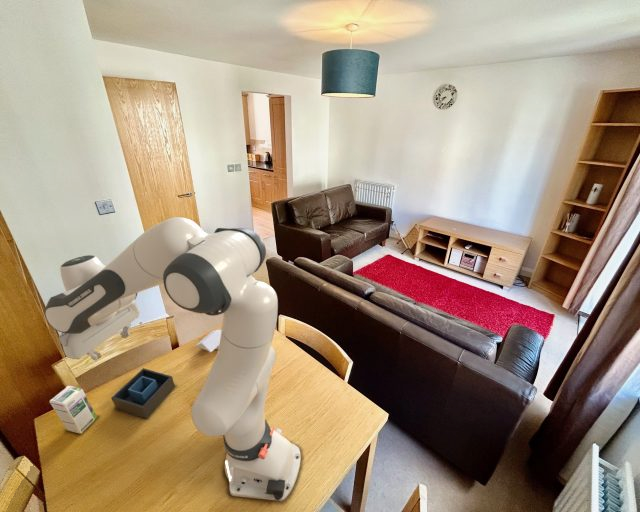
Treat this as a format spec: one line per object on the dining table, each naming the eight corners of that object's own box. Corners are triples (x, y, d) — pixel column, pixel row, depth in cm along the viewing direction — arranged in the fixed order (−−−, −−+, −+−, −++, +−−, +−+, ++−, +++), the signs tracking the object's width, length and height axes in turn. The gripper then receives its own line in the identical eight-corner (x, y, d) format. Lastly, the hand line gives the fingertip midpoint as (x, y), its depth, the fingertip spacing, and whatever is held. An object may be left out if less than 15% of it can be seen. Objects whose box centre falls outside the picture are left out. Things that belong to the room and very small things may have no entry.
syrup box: (81, 434, 87) (64, 404, 81) (66, 430, 88) (48, 400, 82) (97, 417, 92) (83, 388, 86) (83, 414, 93) (67, 384, 87)
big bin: (175, 386, 104) (172, 376, 101) (146, 418, 92) (142, 408, 90) (146, 378, 107) (143, 368, 104) (115, 408, 95) (111, 397, 93)
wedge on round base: (212, 358, 117) (232, 338, 128) (209, 346, 114) (230, 327, 125) (196, 351, 120) (217, 333, 131) (193, 339, 117) (215, 321, 128)
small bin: (159, 391, 101) (155, 379, 99) (146, 405, 96) (141, 393, 93) (146, 387, 103) (142, 375, 100) (132, 401, 97) (127, 389, 95)
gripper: (66, 336, 67) (85, 376, 73) (137, 292, 84) (147, 327, 90) (47, 331, 68) (67, 371, 74) (120, 289, 86) (132, 324, 92)
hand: (112, 347), depth 82 cm, fingers open, 8 cm apart
